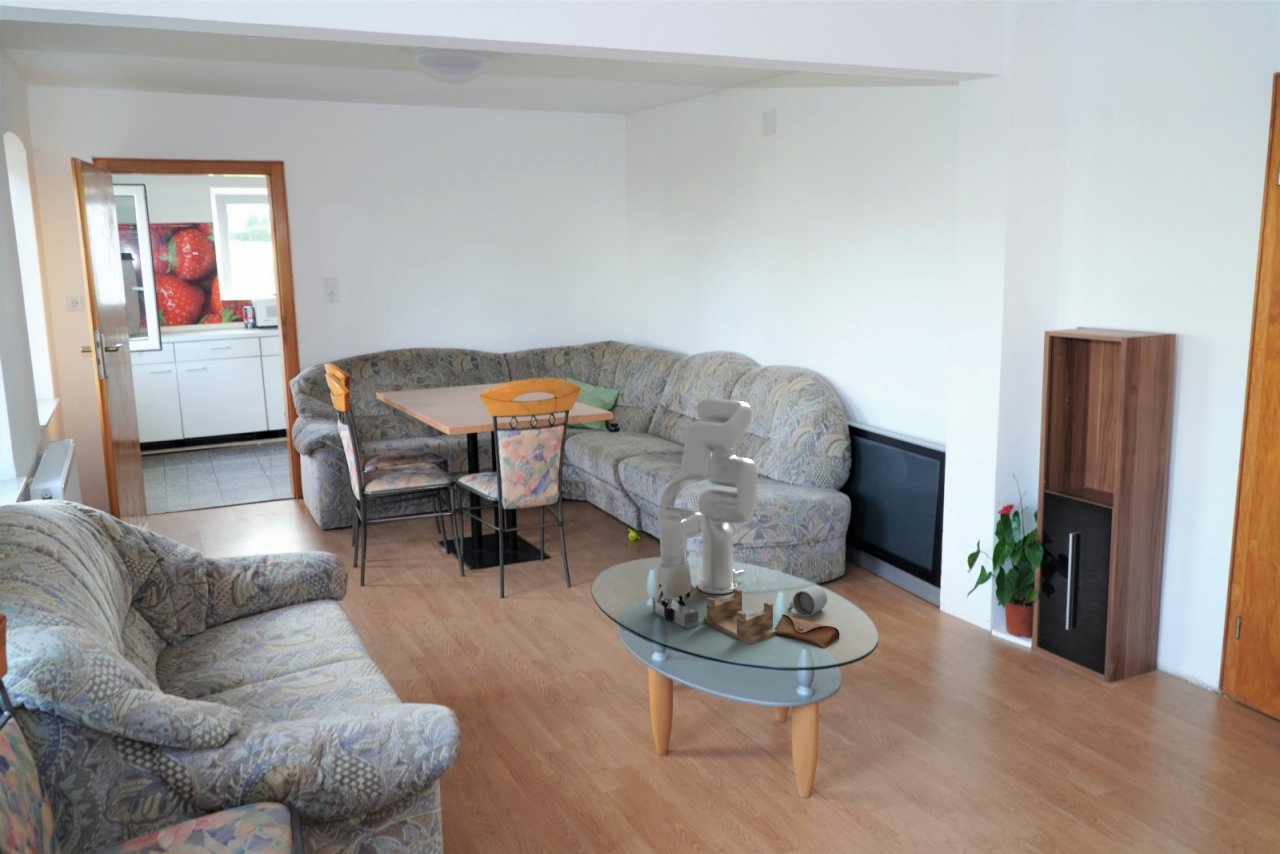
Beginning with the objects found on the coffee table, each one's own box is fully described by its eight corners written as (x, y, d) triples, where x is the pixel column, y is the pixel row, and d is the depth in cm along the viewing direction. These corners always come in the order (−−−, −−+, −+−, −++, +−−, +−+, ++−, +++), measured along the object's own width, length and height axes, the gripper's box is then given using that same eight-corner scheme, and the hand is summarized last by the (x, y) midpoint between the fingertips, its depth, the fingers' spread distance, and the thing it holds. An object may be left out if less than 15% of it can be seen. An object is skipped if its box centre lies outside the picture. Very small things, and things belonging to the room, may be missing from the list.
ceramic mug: (829, 610, 301) (829, 585, 299) (814, 619, 295) (814, 594, 293) (798, 602, 308) (797, 578, 306) (783, 611, 302) (783, 586, 300)
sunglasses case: (768, 633, 286) (773, 610, 288) (778, 637, 292) (783, 615, 293) (826, 649, 276) (832, 624, 277) (836, 652, 282) (841, 629, 283)
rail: (664, 608, 306) (663, 594, 305) (698, 625, 294) (697, 611, 293) (653, 611, 304) (652, 598, 303) (686, 629, 291) (686, 615, 290)
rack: (731, 611, 302) (731, 585, 300) (778, 633, 286) (778, 606, 284) (701, 621, 296) (701, 595, 294) (748, 645, 280) (748, 617, 278)
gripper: (688, 548, 302) (689, 606, 306) (642, 562, 293) (644, 621, 297) (704, 555, 296) (705, 614, 300) (658, 569, 287) (660, 629, 291)
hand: (675, 617), depth 299 cm, fingers closed on rail, 4 cm apart
